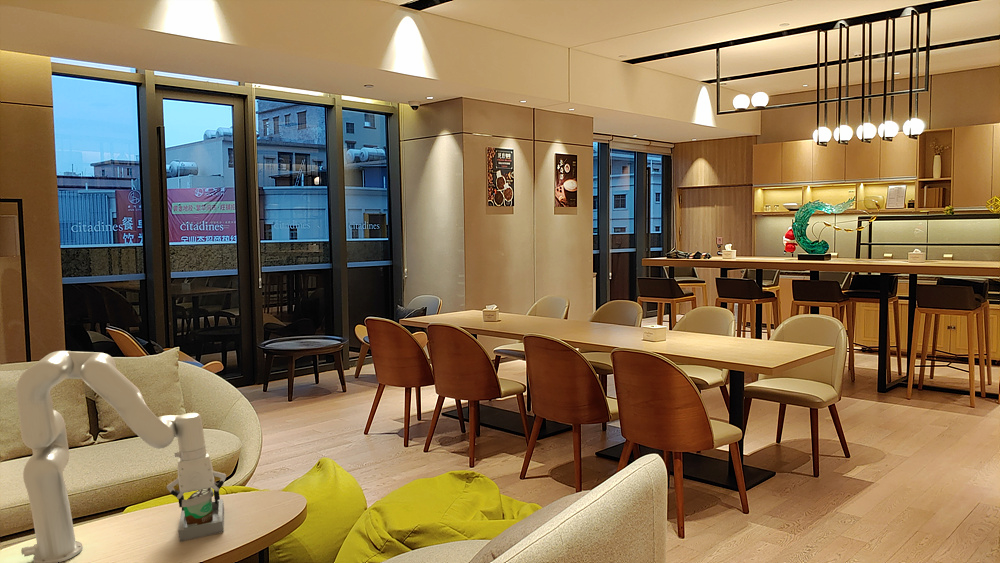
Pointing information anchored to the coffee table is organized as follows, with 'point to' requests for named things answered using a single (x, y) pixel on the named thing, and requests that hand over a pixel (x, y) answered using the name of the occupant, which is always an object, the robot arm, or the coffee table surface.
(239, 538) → the coffee table surface
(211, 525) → the tray
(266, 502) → the coffee table surface
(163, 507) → the coffee table surface
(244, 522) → the coffee table surface
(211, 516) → the food container
